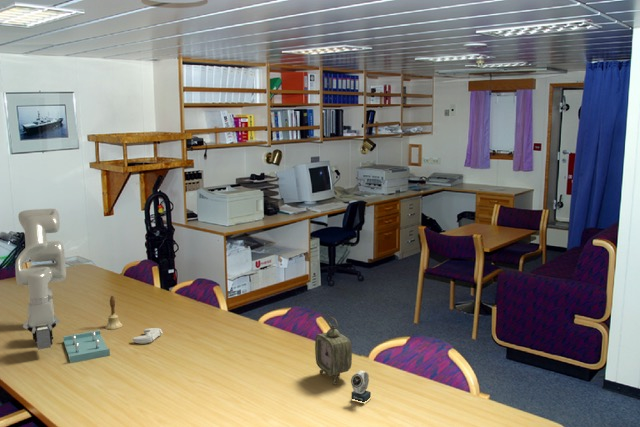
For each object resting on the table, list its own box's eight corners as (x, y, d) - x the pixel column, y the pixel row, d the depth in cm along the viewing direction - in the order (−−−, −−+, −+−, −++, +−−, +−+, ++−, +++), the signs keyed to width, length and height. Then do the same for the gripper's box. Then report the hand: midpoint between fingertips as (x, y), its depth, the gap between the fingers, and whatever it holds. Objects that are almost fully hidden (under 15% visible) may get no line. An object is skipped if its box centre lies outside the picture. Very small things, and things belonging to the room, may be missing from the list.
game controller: (145, 326, 278) (163, 324, 276) (147, 335, 278) (166, 332, 276) (129, 338, 264) (149, 335, 262) (132, 347, 264) (151, 344, 262)
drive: (36, 339, 256) (34, 322, 255) (48, 337, 259) (46, 320, 257) (38, 349, 246) (36, 331, 245) (50, 347, 249) (49, 329, 247)
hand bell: (122, 322, 292) (120, 292, 289) (122, 328, 284) (120, 297, 281) (105, 324, 289) (103, 294, 287) (104, 330, 281) (102, 299, 279)
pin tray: (63, 342, 266) (62, 331, 265) (100, 336, 274) (99, 325, 273) (70, 363, 244) (69, 351, 243) (109, 355, 252) (109, 344, 251)
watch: (348, 402, 209) (348, 374, 208) (360, 393, 216) (360, 366, 214) (361, 406, 206) (361, 378, 204) (373, 398, 213) (373, 370, 211)
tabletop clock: (315, 373, 233) (314, 314, 229) (334, 368, 238) (334, 310, 234) (333, 387, 221) (333, 325, 217) (353, 382, 225) (353, 321, 221)
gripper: (59, 294, 256) (63, 332, 259) (16, 300, 248) (20, 340, 251) (61, 299, 249) (65, 338, 253) (17, 306, 241) (21, 346, 245)
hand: (43, 338), depth 252 cm, fingers closed on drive, 5 cm apart
